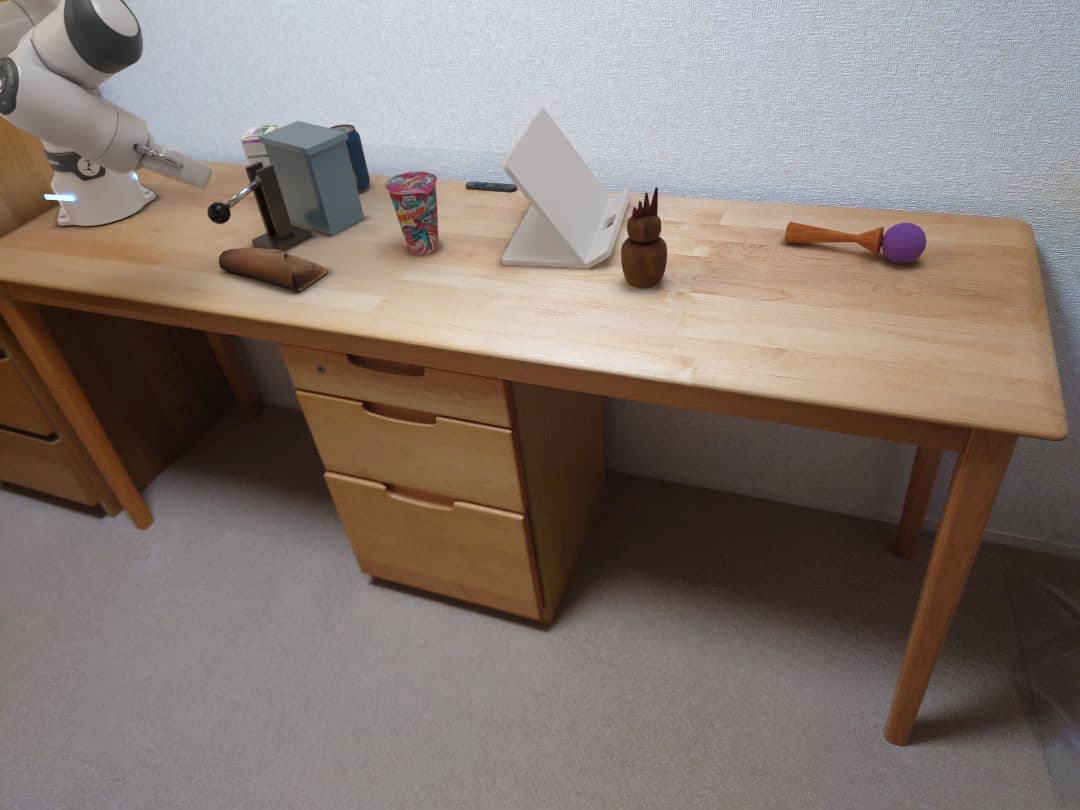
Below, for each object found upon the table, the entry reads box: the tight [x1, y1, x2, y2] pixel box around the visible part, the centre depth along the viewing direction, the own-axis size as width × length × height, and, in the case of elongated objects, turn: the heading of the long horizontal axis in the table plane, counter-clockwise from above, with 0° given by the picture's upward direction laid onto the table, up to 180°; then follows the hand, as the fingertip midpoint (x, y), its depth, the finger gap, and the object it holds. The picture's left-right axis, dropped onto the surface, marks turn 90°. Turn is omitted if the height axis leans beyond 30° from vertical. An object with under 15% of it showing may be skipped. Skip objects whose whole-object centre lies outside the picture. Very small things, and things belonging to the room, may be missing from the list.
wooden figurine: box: [620, 186, 668, 290], centre depth 111 cm, size 7×6×15 cm
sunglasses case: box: [218, 247, 329, 292], centre depth 128 cm, size 18×7×7 cm
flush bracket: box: [244, 162, 313, 252], centre depth 134 cm, size 8×7×14 cm
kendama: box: [784, 221, 928, 265], centre depth 117 cm, size 6×6×20 cm
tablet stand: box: [501, 108, 633, 269], centre depth 126 cm, size 18×25×17 cm
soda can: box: [329, 123, 371, 194], centre depth 151 cm, size 7×7×12 cm
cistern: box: [259, 120, 366, 237], centre depth 139 cm, size 9×14×16 cm, turn 52°
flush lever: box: [206, 172, 260, 225], centre depth 128 cm, size 13×4×4 cm, turn 141°
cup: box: [385, 171, 440, 256], centre depth 127 cm, size 9×8×12 cm
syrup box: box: [239, 124, 279, 167], centre depth 147 cm, size 6×6×14 cm
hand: (201, 180), depth 122 cm, fingers closed
